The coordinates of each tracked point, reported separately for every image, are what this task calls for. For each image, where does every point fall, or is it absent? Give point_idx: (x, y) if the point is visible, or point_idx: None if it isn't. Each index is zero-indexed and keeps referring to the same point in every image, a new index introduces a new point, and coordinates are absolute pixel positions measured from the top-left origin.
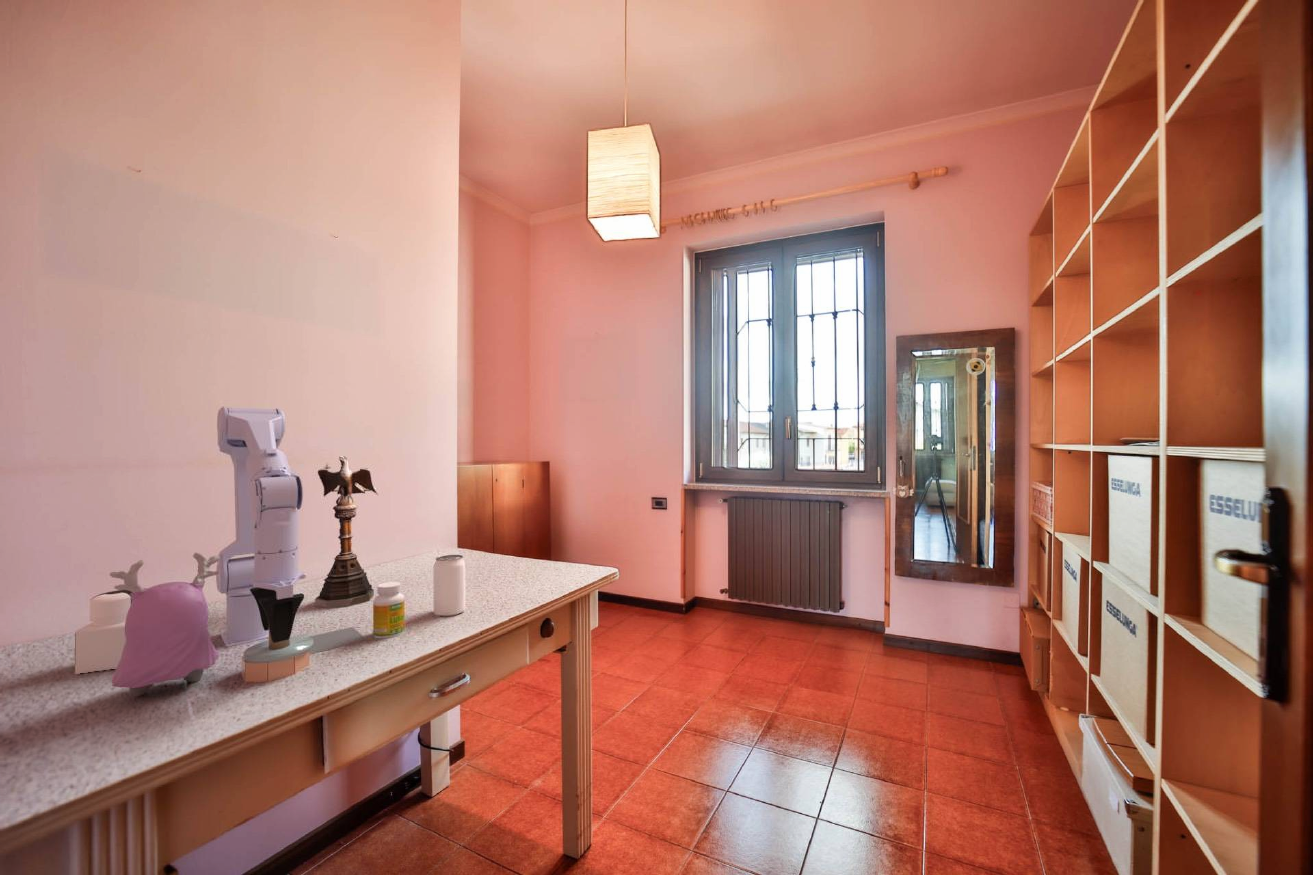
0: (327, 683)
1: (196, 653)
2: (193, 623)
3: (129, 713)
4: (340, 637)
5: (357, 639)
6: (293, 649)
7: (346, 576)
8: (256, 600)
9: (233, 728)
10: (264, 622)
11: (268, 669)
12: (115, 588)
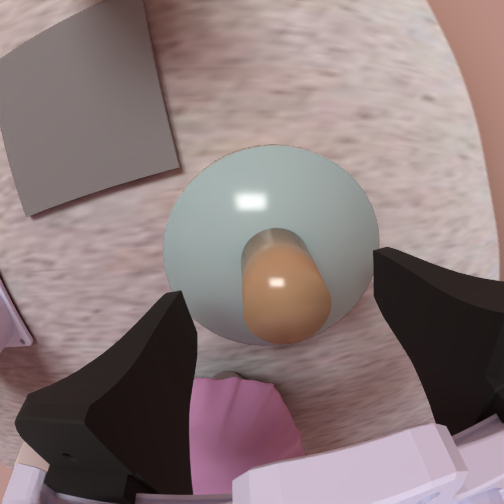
0: (437, 120)
1: (285, 429)
2: None
3: (318, 414)
4: (60, 76)
5: (115, 18)
6: (348, 214)
7: None
8: (188, 463)
9: (494, 276)
10: (194, 357)
11: None
12: None
